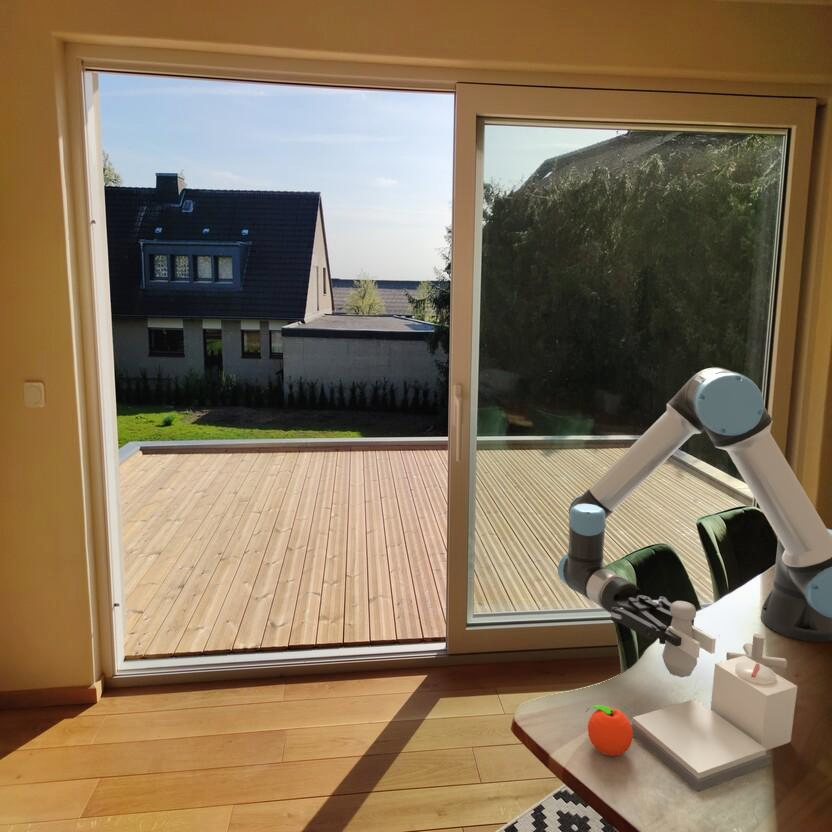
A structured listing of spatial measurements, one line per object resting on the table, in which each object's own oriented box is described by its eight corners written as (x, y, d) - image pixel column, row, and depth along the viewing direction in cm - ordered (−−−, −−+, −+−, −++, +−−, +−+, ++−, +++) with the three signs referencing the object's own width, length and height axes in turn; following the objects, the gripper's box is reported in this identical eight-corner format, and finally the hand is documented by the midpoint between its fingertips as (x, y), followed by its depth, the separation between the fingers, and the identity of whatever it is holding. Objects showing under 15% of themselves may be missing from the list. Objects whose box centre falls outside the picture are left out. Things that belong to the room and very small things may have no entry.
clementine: (571, 745, 104) (574, 705, 102) (596, 727, 108) (598, 689, 107) (616, 772, 98) (619, 730, 96) (639, 752, 102) (643, 712, 101)
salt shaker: (690, 683, 113) (695, 614, 111) (657, 672, 117) (661, 605, 114) (699, 669, 117) (704, 602, 115) (667, 659, 121) (672, 594, 119)
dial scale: (727, 699, 117) (733, 643, 115) (804, 751, 103) (812, 689, 101) (627, 729, 108) (631, 670, 106) (697, 791, 94) (704, 724, 92)
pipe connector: (791, 704, 115) (798, 653, 114) (732, 697, 117) (737, 646, 116) (773, 674, 125) (778, 626, 123) (718, 667, 127) (723, 620, 125)
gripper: (643, 604, 136) (737, 658, 115) (581, 618, 130) (668, 678, 108) (645, 570, 135) (741, 619, 113) (583, 583, 128) (671, 637, 107)
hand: (705, 648), depth 111 cm, fingers closed on salt shaker, 3 cm apart
